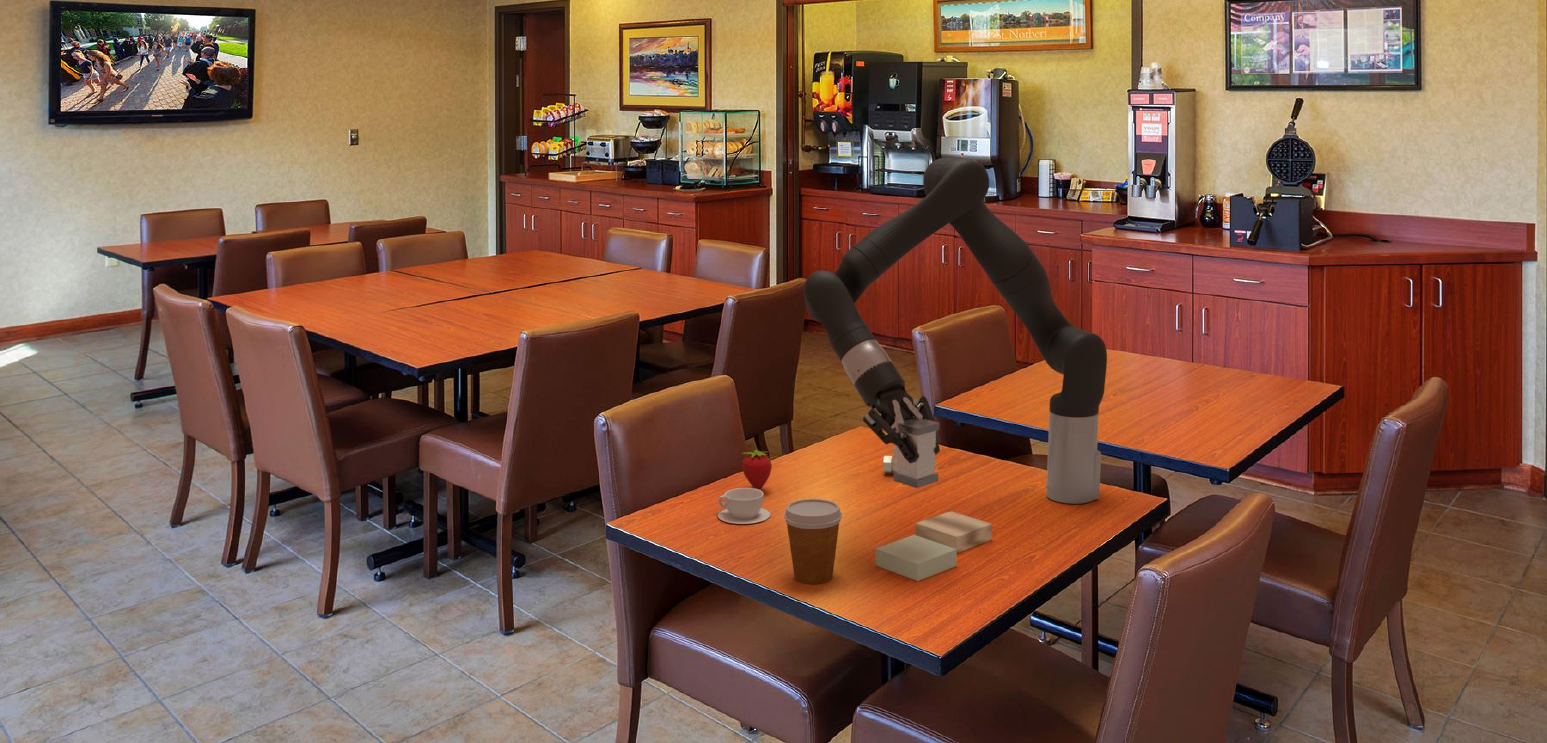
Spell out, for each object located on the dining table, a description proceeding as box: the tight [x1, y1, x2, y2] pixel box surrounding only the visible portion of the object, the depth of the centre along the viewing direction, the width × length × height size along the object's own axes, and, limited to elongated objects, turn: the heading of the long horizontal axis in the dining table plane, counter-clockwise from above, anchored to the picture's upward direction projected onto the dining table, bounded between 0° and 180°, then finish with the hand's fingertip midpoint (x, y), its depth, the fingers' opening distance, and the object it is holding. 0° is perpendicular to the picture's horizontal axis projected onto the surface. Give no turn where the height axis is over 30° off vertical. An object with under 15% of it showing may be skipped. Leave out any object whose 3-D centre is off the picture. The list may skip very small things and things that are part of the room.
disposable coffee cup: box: [783, 498, 843, 585], centre depth 195 cm, size 10×10×12 cm
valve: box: [882, 445, 897, 475], centre depth 248 cm, size 7×7×12 cm
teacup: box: [717, 487, 772, 525], centre depth 225 cm, size 10×10×5 cm
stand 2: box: [915, 510, 993, 554], centre depth 211 cm, size 10×10×3 cm
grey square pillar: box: [893, 416, 940, 489], centre depth 196 cm, size 5×5×10 cm
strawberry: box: [741, 447, 773, 491], centre depth 239 cm, size 6×8×10 cm
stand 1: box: [875, 534, 958, 582], centre depth 200 cm, size 10×10×3 cm
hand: (925, 456), depth 194 cm, fingers closed on grey square pillar, 4 cm apart
